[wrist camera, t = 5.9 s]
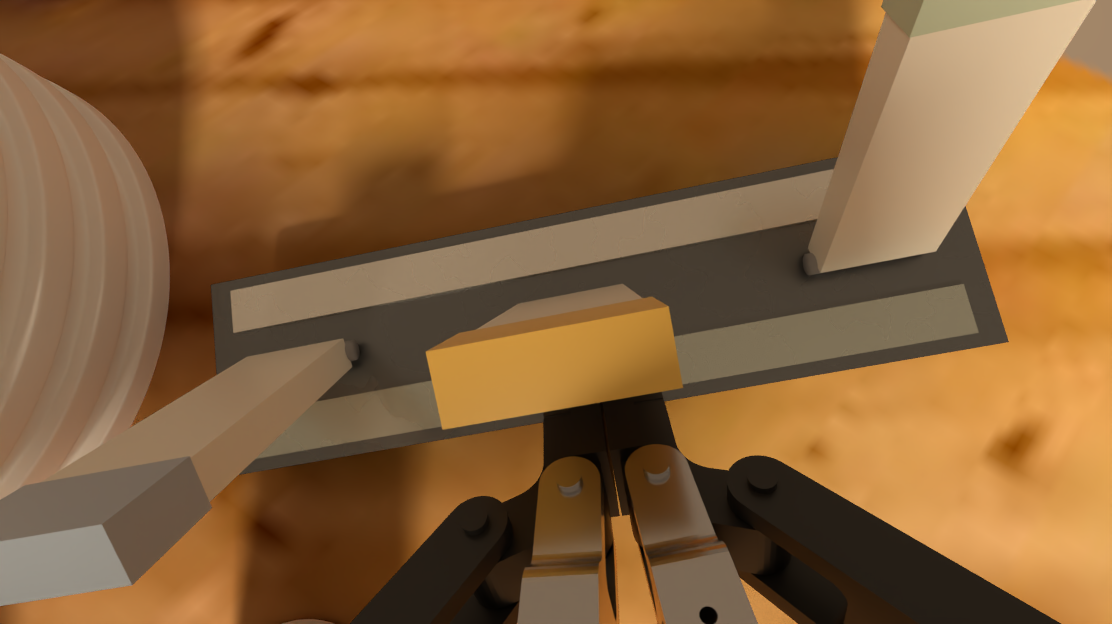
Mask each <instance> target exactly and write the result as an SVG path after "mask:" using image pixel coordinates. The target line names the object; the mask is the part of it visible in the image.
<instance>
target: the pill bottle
mask: <svg viewBox="0 0 1112 624" xmlns="http://www.w3.org/2000/svg"><path fill="white" fill-rule="evenodd" d="M282 624H334V623H331V622H327V621H323V620H316V619H300V620H294V621H289V622H286V623H282Z"/></svg>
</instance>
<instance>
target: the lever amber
mask: <svg viewBox="0 0 1112 624" xmlns="http://www.w3.org/2000/svg"><path fill="white" fill-rule="evenodd" d="M426 356H427V361H428V365H429V370H430V375H431V379H432V384H433V388H434V393H435V398H436V402H437V407H438V411H439V416H440V420H441V425H442V430H444V429H450V428H456V427H462V426H467V425H473V424H479V423H485V422H490V421H496V420H502V419H508V418H513V417H519V416H525V415H530V414H536V413H542V412H548V411H553V410H559V409H565V408H571V407H576V406H582V405H588V404H594V403H599V402H605V401H611V400H617V399H622V398H628V397H634V396H640V395H645V394H651V393H657V392H663V391H668V390H674V389H680V388H683V384H682V378H681V373H680V367H679V362H678V356H677V350H676V345H675V339H674V333H673V328H672V322H671V317H670V311H669V306H667V305H666V304H664V303H662V302H660V301H659V300H657V299H655V298H654V297H647V298H642V297H640V296H639V295H638V294H636V293H635V292H634V291H632V290H631V289H629V288H628V287H627V286H625V285H624V284H618V285H613V286H608V287H602V288H597V289H592V290H587V291H582V292H576V293H571V294H566V295H561V296H555V297H550V298H545V299H540V300H534V301H529V302H524V303H519V304H517V305H515V306H514V307H512V308H510V309H509V310H507V311H505V312H504V313H502V314H501V315H499V316H497V317H496V318H494V319H492V320H491V321H489V322H487V323H486V324H484V325H483V326H481V327H479V328H478V329H476V330H472V331H466V332H461V333H458V334H456V335H455V336H453V337H451V338H449V339H447V340H446V341H444V342H442V343H440V344H438V345H437V346H435V347H433V348H431V349H429V350H428V351H426Z"/></svg>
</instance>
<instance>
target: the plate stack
mask: <svg viewBox="0 0 1112 624" xmlns="http://www.w3.org/2000/svg"><path fill="white" fill-rule="evenodd" d="M169 290H170V262H169V249H168V241H167V234H166V229H165V224H164V219H163V215H162V211H161V207H160V204H159V201H158V198H157V195H156V192H155V189H154V187H153V184H152V182H151V180H150V177H149V175H148V173H147V171H146V169H145V167H144V165H143V164H142V162H141V160H140V158H139V157H138V155H137V153H136V152H135V150H134V149H133V147H132V146H131V145H130V143H129V142H128V141H127V139H126V138H125V137H124V135H123V134H122V133H121V132H120V131H119V130H118V129H117V127H116V126H115V125H114V124H113V123H112V122H111V121H110V120H109V119H108V118H106V117H105V116H104V115H103V114H102V113H101V112H100V111H98V110H97V109H96V108H95V107H93V106H92V105H90V104H89V103H88V102H86V101H85V100H83V99H81V98H80V97H78V96H76V95H75V94H73V93H71V92H69V91H68V90H66V89H64V88H62V87H60V86H58V85H57V84H55V83H53V82H51V81H49V80H47V79H45V78H43V77H41V76H39V75H38V74H36V73H34V72H33V71H31V70H30V69H28V68H26V67H24V66H23V65H21V64H19V63H17V62H15V61H14V60H12V59H10V58H8V57H6V56H4V55H3V54H1V53H0V500H1V499H2V498H4V497H6V496H8V495H9V494H11V493H13V492H14V491H16V490H18V489H19V488H21V487H23V486H24V485H29V484H34V483H40V482H42V481H43V480H45V479H46V478H48V477H50V476H51V475H53V474H55V473H56V472H58V471H60V470H61V469H63V468H65V467H66V466H68V465H70V464H71V463H73V462H74V461H76V460H78V459H79V458H81V457H83V456H84V455H86V454H88V453H89V452H91V451H93V450H94V449H96V448H97V447H99V446H101V445H102V444H104V443H106V442H107V441H109V440H111V439H112V438H114V437H116V436H117V435H119V434H121V433H122V432H124V431H125V430H127V429H129V428H130V427H131V425H132V423H133V421H134V419H135V417H136V415H137V413H138V411H139V409H140V406H141V404H142V402H143V400H144V397H145V395H146V392H147V390H148V387H149V385H150V382H151V379H152V376H153V373H154V370H155V367H156V364H157V360H158V357H159V353H160V349H161V345H162V341H163V336H164V331H165V326H166V320H167V312H168V304H169Z"/></svg>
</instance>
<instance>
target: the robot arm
mask: <svg viewBox="0 0 1112 624" xmlns="http://www.w3.org/2000/svg"><path fill="white" fill-rule="evenodd" d="M543 416H544V419H543V427H544V465H543V470H542V473H541V475H540V477H539V479H538V480H537V482H536V483H535V484H534V485H533V486H532V487H531V488H530V489H529V490H527V491H526V492H524V493H522V494H520V495H519V496H516V497H514V498H512V499H510V500H508V501H505V502H503V503H501V502H500V501H499V500H497V499H495V498H493V497H489V496H478V497H474V498H471V499H469V500H466V501H465V502H463V503H461V504H460V505H459V506H458V507H457V508H456V509H454V510H453V512H452V513H451V514H450V515H449V516H448V517H447V518H446V519H445V520H444V521H443V523H442V524H441V525H440V526H439V527H438V528H437V529H436V530H435V531H434V532H433V533H432V535H431V536H430V537H429V538H428V539H427V540H426V541H425V542H424V543H423V544H422V545H421V547H420V548H419V549H418V550H417V551H416V552H415V553H414V554H413V555H412V556H411V557H410V559H409V560H408V561H407V562H406V563H405V564H404V565H403V566H402V567H401V568H400V569H399V571H398V572H397V573H396V574H395V575H394V576H393V577H392V578H391V579H390V580H389V582H388V583H387V584H386V585H385V586H384V587H383V588H382V589H381V590H380V591H379V592H378V594H377V595H376V596H375V597H374V598H373V599H372V600H371V601H370V602H369V603H368V604H367V606H366V607H365V608H364V609H363V610H362V611H361V612H360V613H359V614H358V615H357V616H356V618H355V619H354V620H353V621H352V622H351V623H350V624H619V604H618V582H617V560H616V546H615V541H614V537H613V531H612V523H611V517H615V516H620V515H619V508H618V501H617V494H616V487H615V481H616V486H617V491H618V496H619V501H620V507H621V512H622V516H623V515H630V520H631V525H632V531H633V535H634V538H635V540H636V542H637V543H638V547H639V551H640V555H641V560H642V564H643V568H644V572H645V576H646V580H647V584H648V588H649V592H650V596H651V600H652V604H653V608H654V612H655V616H656V620H657V624H758V623H757V620H756V618H755V615H754V613H753V610H752V608H751V605H750V603H749V600H748V598H747V595H746V593H745V590H744V588H743V585H742V583H741V580H740V578H741V579H742V580H744V581H745V582H746V583H747V584H749V585H750V586H751V587H753V588H754V589H755V590H756V591H758V592H759V593H760V594H761V595H763V596H764V597H765V598H766V599H768V600H769V601H770V602H772V603H773V604H774V605H775V606H777V607H778V608H779V609H780V610H782V611H783V612H784V613H785V614H787V615H788V616H789V617H791V618H792V619H793V620H794V621H796V622H797V623H798V624H1061V623H1059V622H1057V621H1056V620H1054V619H1052V618H1050V617H1049V616H1047V615H1045V614H1043V613H1042V612H1040V611H1038V610H1037V609H1035V608H1033V607H1031V606H1030V605H1028V604H1026V603H1024V602H1023V601H1021V600H1019V599H1018V598H1016V597H1014V596H1012V595H1011V594H1009V593H1007V592H1005V591H1004V590H1002V589H1000V588H998V587H997V586H995V585H993V584H992V583H990V582H988V581H986V580H985V579H983V578H981V577H979V576H978V575H976V574H974V573H973V572H971V571H969V570H967V569H966V568H964V567H962V566H960V565H959V564H957V563H955V562H954V561H952V560H950V559H948V558H947V557H945V556H943V555H941V554H940V553H938V552H936V551H934V550H933V549H931V548H929V547H928V546H926V545H924V544H922V543H921V542H919V541H917V540H915V539H914V538H912V537H910V536H909V535H907V534H905V533H903V532H902V531H900V530H898V529H896V528H895V527H893V526H891V525H890V524H888V523H886V522H884V521H883V520H881V519H879V518H877V517H876V516H874V515H872V514H870V513H869V512H867V511H865V510H864V509H862V508H860V507H858V506H857V505H855V504H853V503H851V502H850V501H848V500H846V499H845V498H843V497H841V496H839V495H838V494H836V493H834V492H832V491H831V490H829V489H827V488H826V487H824V486H822V485H820V484H819V483H817V482H815V481H813V480H812V479H810V478H808V477H806V476H805V475H803V474H801V473H800V472H798V471H796V470H794V469H793V468H791V467H789V466H787V465H786V464H784V463H782V462H780V461H778V460H776V459H774V458H771V457H766V456H749V457H745V458H742V459H740V460H738V461H737V462H735V463H734V464H733V465H732V466H731V468H730V469H729V471H728V470H720V469H713V468H707V467H703V466H700V465H697V464H695V463H693V462H691V461H690V460H688V459H687V458H686V457H684V456H683V454H682V453H681V452H680V451H679V449H678V448H677V445H676V442H675V439H674V435H673V431H672V428H671V424H670V420H669V417H668V413H667V410H666V406H665V402H664V399H663V395H662V392H657V393H651V394H645V395H640V396H634V397H628V398H622V399H617V400H611V401H605V402H599V403H594V404H588V405H582V406H576V407H571V408H565V409H559V410H553V411H548V412H543ZM613 471H614V473H613ZM614 476H615V480H614ZM739 577H740V578H739Z"/></svg>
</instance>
